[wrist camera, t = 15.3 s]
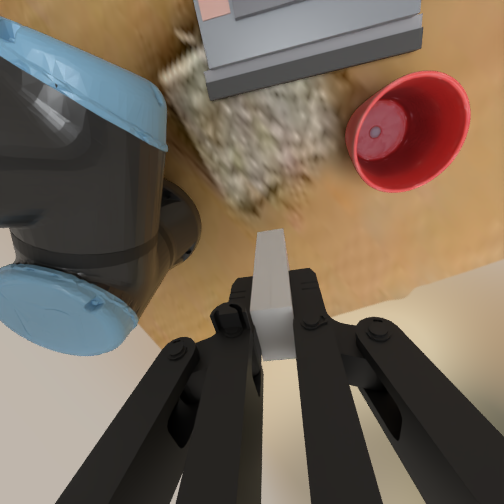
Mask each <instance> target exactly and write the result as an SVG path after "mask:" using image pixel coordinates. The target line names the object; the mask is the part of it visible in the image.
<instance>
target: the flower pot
mask: <svg viewBox="0 0 504 504" xmlns="http://www.w3.org/2000/svg"><path fill="white" fill-rule="evenodd" d="M469 125H470V104H469V99H468V96H467V94H466V92H465V90H464V89H463V87H462V86H461V85H460V83H459V82H458V81H457V80H455V79H454V78H452V77H451V76H449V75H447V74H445V73H441V72H438V71H419V72H414V73H410V74H407V75H405V76H402V77H400V78H398V79H396V80H395V81H393V82H391V83H390V84H388V85H387V86H385V87H384V88H382V89H381V90H379V91H378V92H377V93H375V94H374V95H373V96H371V97H370V98H369V99H367V100H366V101H365V102H364V103H363V104H362V105H360V106H359V107H358V108H357V109H356V110H355V112H354V113H353V114H352V116H351V118H350V119H349V122H348V124H347V127H346V132H345V141H346V146H347V149H348V152H349V155H350V158H351V160H352V162H353V164H354V167H355V169H356V171H357V172H358V174H359V175H360V177H361V178H362V179H363V181H364V182H365V183H366V184H368V185H369V186H370V187H372V188H374V189H376V190H379V191H382V192H389V193H397V192H405V191H409V190H412V189H415V188H418V187H420V186H422V185H424V184H426V183H428V182H429V181H431V180H432V179H434V178H435V177H437V176H438V175H439V174H440V173H442V172H443V171H444V170H445V169H446V168H447V167H448V166H449V165H450V164H451V162H452V161H453V160H454V159H455V157H456V156H457V154H458V153H459V151H460V149H461V147H462V145H463V143H464V141H465V139H466V136H467V133H468V129H469Z"/></svg>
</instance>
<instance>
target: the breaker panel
mask: <svg viewBox="0 0 504 504" xmlns="http://www.w3.org/2000/svg"><path fill="white" fill-rule="evenodd" d="M193 1H194V5H195V10H196V14H197V18H198V23H199V27H200V31H201V35H202V40H203V44H204V48H205V53H206V57H207V61H208V65H209V69H211V70H216V69H219V68H223V67H227V66H231V65H235V64H238V63H242V62H246V61H250V60H253V59H257V58H261V57H265V56H268V55H272V54H276V53H280V52H284V51H287V50H291V49H295V48H299V47H302V46H306V45H310V44H314V43H317V42H321V41H325V40H329V39H333V38H336V37H340V36H344V35H348V34H351V33H355V32H359V31H363V30H366V29H370V28H374V27H378V26H382V25H385V24H389V23H393V22H397V21H400V20H404V19H408V18H412V17H414V16H415V15H417V14H418V13H420V8H421V0H193Z"/></svg>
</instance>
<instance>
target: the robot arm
mask: <svg viewBox="0 0 504 504" xmlns="http://www.w3.org/2000/svg"><path fill="white" fill-rule="evenodd" d="M166 124H167V106H166V102H165V99H164V97H163V95H162V93H161V92H160V90H159V89H158V88H157V87H156V86H155V85H154V84H153V83H152V82H150V81H149V80H147V79H145V78H143V77H141V76H139V75H137V74H134V73H132V72H130V71H128V70H126V69H124V68H121V67H119V66H117V65H115V64H113V63H110V62H108V61H106V60H103V59H101V58H99V57H97V56H94V55H92V54H90V53H88V52H85V51H83V50H81V49H78V48H76V47H74V46H71V45H69V44H67V43H64V42H62V41H60V40H57V39H55V38H53V37H50V36H48V35H46V34H43V33H41V32H38V31H36V30H34V29H31V28H29V27H26V26H23V25H21V24H19V23H17V22H14V21H12V20H9V19H7V18H4V17H2V16H0V228H9V229H10V232H11V236H12V241H13V245H14V249H15V253H16V260H15V261H14V263H13V264H9V265H7V266H4V267H1V268H0V321H2V322H3V323H4V324H5V325H6V326H7V327H8V328H10V329H11V330H12V331H14V332H16V333H17V334H18V335H20V336H22V337H24V338H26V339H27V340H29V341H31V342H33V343H35V344H37V345H39V346H42V347H45V348H47V349H50V350H53V351H57V352H61V353H65V354H70V355H77V356H94V355H100V354H102V353H106V352H109V351H112V350H114V349H116V348H117V347H118V346H119V345H121V343H122V342H123V341H124V340H125V339H126V337H127V336H128V335H129V333H130V332H131V331H132V330H133V329H134V328H135V327H136V326H137V323H138V321H139V318H140V317H141V315H142V313H143V312H144V310H145V308H146V307H147V305H148V303H149V302H150V300H151V299H152V297H153V295H154V294H155V292H156V290H157V289H158V287H159V285H160V284H161V282H162V280H163V279H164V277H165V276H166V274H167V272H168V271H169V270H170V269H172V268H174V267H175V266H177V265H179V264H180V263H182V262H184V261H185V260H186V259H187V258H188V257H189V256H190V255H191V254H192V253H193V251H194V249H195V248H196V246H197V244H198V242H199V239H200V235H201V220H200V216H199V213H198V211H197V208H196V206H195V205H194V203H193V202H192V200H191V199H190V198H189V196H188V195H187V194H186V193H185V192H184V191H183V190H182V189H180V188H179V187H178V186H176V185H175V184H173V183H171V182H169V181H167V180H165V179H163V177H164V167H165V156H166V152H168V145H167V144H166ZM210 318H211V320H212V323H213V326H214V328H215V331H216V334H215V335H213V336H212V337H210V338H208V339H205V340H202V341H200V342H197V343H195V342H194V341H193V340H192V339H191V338H188V337H180V338H177V339H175V340H173V341H171V342H170V343H168V344H167V345H166V346H165V347H164V348H163V349H162V351H161V352H160V354H159V355H158V357H157V358H156V359H155V361H154V362H153V364H152V365H151V367H150V368H149V369H148V371H147V372H146V374H145V375H144V376H143V378H142V379H141V381H140V382H139V384H138V385H137V387H136V388H135V390H134V391H133V392H132V394H131V395H130V397H129V398H128V399H127V401H126V402H125V404H124V405H123V407H122V408H121V410H120V411H119V412H118V414H117V415H116V417H115V418H114V420H113V421H112V423H111V424H110V425H109V427H108V428H107V430H106V431H105V433H104V434H103V435H102V437H101V438H100V440H99V441H98V443H97V444H96V445H95V447H94V449H93V450H92V451H91V453H90V454H89V456H88V457H87V458H86V460H85V461H84V463H83V464H82V466H81V467H80V469H79V470H78V471H77V473H76V474H75V476H74V477H73V478H72V480H71V482H70V483H69V484H68V486H67V487H66V489H65V490H64V491H63V493H62V494H61V496H60V498H59V499H58V500H57V501H56V503H55V504H170V502H171V499H172V497H173V494H174V492H175V490H176V487H177V485H178V482H179V480H180V478H181V475H182V473H183V475H182V479H181V483H180V488H179V492H178V496H177V500H176V504H261V477H262V476H261V475H262V425H263V375H264V374H263V369H262V366H261V355H262V357H263V361H271V360H283V359H295V358H296V361H297V370H298V380H299V390H300V399H301V409H302V418H303V428H304V438H305V447H306V457H307V466H308V475H309V476H308V477H309V486H310V496H311V504H383V502H382V499H381V495H380V492H379V489H378V485H377V481H376V478H375V474H374V471H373V467H372V464H371V460H370V457H369V453H368V450H367V446H366V442H365V439H364V436H363V432H362V429H361V425H360V421H359V418H358V414H357V411H356V407H355V404H354V400H353V397H352V394H351V390H350V386H349V385H353V386H357V387H358V388H359V390H360V392H361V393H362V395H363V397H364V399H365V400H366V402H367V404H368V406H369V407H370V409H371V411H372V412H373V414H374V416H375V417H376V419H377V420H378V423H379V424H380V426H381V427H382V429H383V431H384V433H385V434H386V436H387V438H388V440H389V441H390V443H391V445H392V446H393V448H394V450H395V451H396V453H397V455H398V457H399V458H400V460H401V462H402V463H403V465H404V467H405V468H406V470H407V472H408V474H409V475H410V477H411V479H412V480H413V482H414V484H415V485H416V487H417V489H418V490H419V492H420V494H421V496H422V497H423V499H424V501H425V502H426V504H504V437H503V436H502V434H501V433H500V432H499V431H498V430H496V428H495V427H494V426H493V425H492V424H491V423H490V422H489V421H488V420H487V419H486V418H485V417H484V416H483V415H482V414H481V413H480V412H479V410H477V408H476V407H475V406H474V405H473V404H472V403H471V402H470V401H469V400H468V399H467V398H466V397H465V396H464V395H463V394H462V393H461V392H460V391H459V390H458V389H457V388H456V387H455V386H454V385H453V383H451V381H449V379H448V378H447V377H446V376H445V375H444V374H443V373H442V372H441V371H440V370H439V369H438V368H437V367H436V366H435V365H434V364H433V363H432V362H431V361H430V360H429V359H428V357H427V356H426V355H424V353H423V352H422V351H421V350H420V349H419V348H418V347H417V346H416V345H415V344H414V343H413V342H412V341H411V340H410V339H409V338H408V337H407V336H406V335H405V334H404V332H403V331H402V330H401V329H400V328H399V327H398V326H397V325H395V324H394V323H392V322H391V321H389V320H386V319H383V318H379V317H369V318H365V319H363V320H361V321H359V323H358V324H357V325H356V326H355V325H348V324H343V323H340V322H337V321H335V320H334V319H332V318H331V317H330V316H329V315H328V314H327V312H326V309H325V306H324V302H323V299H322V295H321V291H320V288H319V284H318V281H317V277H316V274H315V273H314V272H313V271H312V270H311V269H310V268H305V269H297V270H290V269H289V263H288V256H287V250H286V244H285V237H284V231H283V228H282V229H276V230H269V231H263V232H257V242H256V252H255V262H254V273H253V276H251V277H243V278H237V280H236V281H235V282H234V283H233V285H232V288H231V294H230V297H229V302H226V303H223V304H221V305H219V306H217V307H216V308H215V309H214V310H213V311H212V313H211V315H210Z"/></svg>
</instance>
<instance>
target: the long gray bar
mask: <svg viewBox="0 0 504 504" xmlns="http://www.w3.org/2000/svg"><path fill="white" fill-rule="evenodd" d="M422 15H423V13H422V14H418V15H415V16H414V17H412V18H408V19H404V20H400V21H397V22H393V23H389V24H385V25H382V26H378V27H374V28H370V29H366V30H363V31H359V32H355V33H351V34H348V35H344V36H340V37H336V38H333V39H329V40H325V41H321V42H317V43H314V44H310V45H306V46H302V47H299V48H295V49H291V50H287V51H284V52H280V53H276V54H272V55H268V56H265V57H261V58H257V59H253V60H250V61H246V62H242V63H238V64H235V65H231V66H227V67H223V68H219V69H216V70H208V71H204V75H205V79H206V86H207V90H208V94H209V98H210V100H211V101H214V100H218V99H222V98H226V97H230V96H234V95H239V94H243V93H247V92H251V91H255V90H259V89H263V88H267V87H271V86H275V85H279V84H283V83H287V82H291V81H295V80H299V79H303V78H308V77H312V76H316V75H320V74H324V73H328V72H332V71H336V70H340V69H344V68H348V67H352V66H356V65H360V64H364V63H368V62H372V61H377V60H381V59H385V58H389V57H393V56H397V55H401V54H405V53H409V52H413V51H416V50H418V49H421V46H422V35H423V27H422V28H421V26H422Z"/></svg>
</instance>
